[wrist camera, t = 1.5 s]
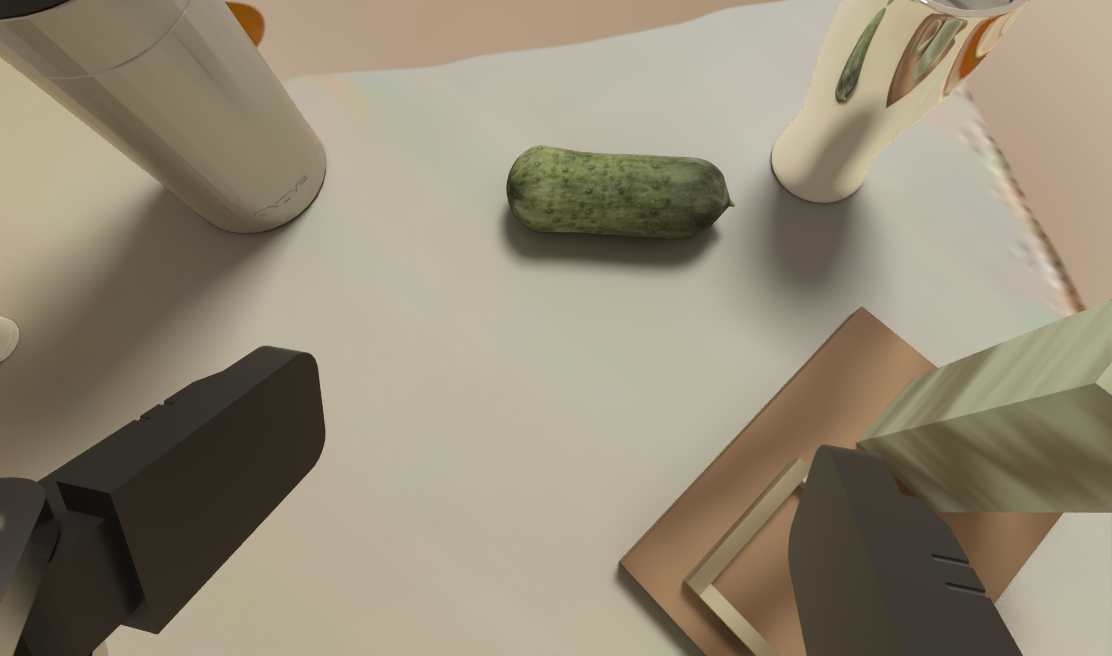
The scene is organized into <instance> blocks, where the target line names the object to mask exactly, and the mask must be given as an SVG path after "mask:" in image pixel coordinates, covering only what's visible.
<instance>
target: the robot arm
mask: <svg viewBox="0 0 1112 656" xmlns="http://www.w3.org/2000/svg"><path fill="white" fill-rule="evenodd" d="M0 57H1V58H2V59H4V60H5V61H6V62H7V63H9V64H10V65H12V66H13V67H14V68H16V69H17V70H18V71H19V72H21V73H22V74H23V75H24V76H26V77H27V78H28V79H30V80H31V81H32V82H33V83H35V84H36V85H37V86H38V87H40V88H41V89H42V90H43V91H45V92H46V93H47V94H48V95H50V96H51V97H52V98H54V99H55V100H56V101H57V102H59V103H60V104H61V105H62V106H64V107H65V108H66V109H67V110H69V111H70V112H71V113H73V114H74V115H75V116H76V117H78V118H79V119H80V120H81V121H83V122H84V123H85V124H86V125H88V126H89V127H90V128H91V129H93V130H94V131H95V132H97V133H98V134H99V135H100V136H102V137H103V138H104V139H105V140H107V141H108V142H109V143H110V144H112V145H113V146H114V147H116V148H117V149H118V150H119V151H121V152H122V153H123V154H124V155H126V156H127V157H128V158H129V159H131V160H132V161H133V162H134V163H136V164H137V165H138V166H140V167H141V168H142V169H143V170H145V171H146V172H147V173H148V174H150V175H151V176H152V177H153V178H155V179H156V180H157V181H159V182H160V183H161V184H162V185H164V186H165V187H166V188H167V189H168V190H169V191H171V192H172V193H173V194H175V195H176V196H177V197H178V198H180V199H181V200H182V201H183V202H185V203H186V204H187V205H189V206H190V207H191V208H192V209H194V210H195V211H196V212H197V213H199V214H200V215H201V216H202V217H204V218H205V219H206V220H208V221H209V222H211V223H212V224H213V225H215V226H217V227H219V228H222V229H224V230H227V231H231V232H237V233H257V232H262V231H266V230H270V229H273V228H276V227H278V226H280V225H283V224H285V223H287V222H288V221H290V220H291V219H293V218H294V217H296V216H297V215H299V214H300V213H301V212H302V211H303V210H304V209H305V208H306V207H307V206H308V205H309V204H310V203H311V201H312V200H313V199H314V197H315V196H316V194H317V193H318V191H319V189H320V186H321V184H322V182H323V178H324V174H325V169H326V164H325V154H324V150H323V147H322V144H321V142H320V141H319V139H318V137H317V136H316V134H315V133H314V131H313V130H312V128H311V127H310V126H309V124H308V123H307V121H306V120H305V118H304V117H303V115H302V114H301V113H300V111H299V110H298V108H297V107H296V105H295V104H294V102H293V101H292V99H291V98H290V96H289V95H288V93H287V92H286V90H285V89H284V87H283V86H282V84H281V83H280V82H279V80H278V79H277V77H276V76H275V74H274V73H273V71H272V70H271V69H270V67H269V66H268V64H267V63H266V61H265V60H264V58H263V57H262V56H261V54H260V53H259V51H258V50H257V48H256V47H255V45H254V44H253V42H252V41H251V40H250V38H249V37H248V35H247V34H246V32H245V31H244V29H243V28H242V27H241V25H240V24H239V22H238V21H237V19H236V18H235V16H234V15H233V14H232V12H231V11H230V9H229V8H228V6H227V5H226V3H225V2H224V0H0ZM324 442H325V423H324V414H323V406H322V398H321V390H320V382H319V373H318V366H317V363H316V360H315V358H314V357H313V356H312V355H311V354H309V353H306V352H300V351H295V350H289V349H283V348H277V347H272V346H262V347H259V348H257V349H256V350H254V351H253V352H251V353H250V354H248V355H247V356H245V357H244V358H242V359H240V360H239V361H237V362H236V363H234V364H233V365H231V366H230V367H228V368H227V369H225V370H224V371H221V372H219V373H216V374H214V375H211V376H208V377H206V378H203V379H200V380H198V381H195V382H193V383H191V384H189V385H188V386H186V387H185V388H183V389H182V390H180V391H179V392H177V393H175V394H174V395H172V396H171V397H169V398H168V399H166V400H165V401H164V404H163V405H160V404H158V405H157V406H155V407H154V408H152V409H150V410H149V411H147V412H146V413H144V414H143V415H141V416H140V420H139V421H136V420H133V421H132V422H130V423H129V424H127V425H126V426H124V427H122V428H121V429H119V430H118V431H116V432H115V433H113V434H111V435H110V436H108V437H107V438H105V439H104V440H102V441H101V442H99V443H97V444H96V445H94V446H93V447H91V448H90V449H88V450H86V451H85V452H83V453H82V454H80V455H79V456H77V457H76V458H74V459H72V460H71V461H69V462H68V463H66V464H65V465H63V466H62V467H60V468H58V469H57V470H55V471H54V472H52V473H51V474H49V475H47V476H46V477H44V478H43V479H41V480H40V481H38V482H35V481H33V480H30V479H24V478H13V477H10V478H0V656H108V649H107V645H106V643H105V639H106V638H107V637H108V636H109V635H110V634H111V633H112V632H113V631H114V630H115V629H116V628H117V627H118V626H120V625H124V626H128V627H132V628H136V629H139V630H143V631H147V632H150V633H154V634H159V633H160V632H161V630H162V629H163V628H164V627H165V626H166V625H167V624H168V623H169V622H170V621H171V620H172V619H173V618H174V616H175V615H176V614H177V613H178V612H179V611H180V610H181V609H182V608H183V607H184V606H185V605H186V604H187V603H188V601H189V600H190V599H191V598H192V597H193V596H194V595H195V594H196V593H197V592H198V591H199V590H200V589H201V587H202V586H203V585H204V584H205V583H206V582H207V581H208V580H209V579H210V578H211V577H212V576H213V575H214V574H215V572H216V571H217V570H218V569H219V568H220V567H221V566H222V565H223V564H224V563H225V562H226V561H227V560H228V559H229V557H230V556H231V555H232V554H233V553H234V552H235V551H236V550H237V549H238V548H239V547H240V546H241V545H242V543H243V542H244V541H245V540H246V539H247V538H248V537H249V536H250V535H251V534H252V533H253V532H254V531H255V530H256V528H257V527H258V526H259V525H260V524H261V523H262V522H263V521H264V520H265V519H266V518H267V517H268V516H269V514H270V513H271V512H272V511H273V510H274V509H275V508H276V507H277V506H278V505H279V504H280V503H281V502H282V501H283V499H284V498H285V497H286V496H287V495H288V494H289V493H290V492H291V491H292V490H293V489H294V488H295V487H296V486H297V484H298V483H299V482H300V481H301V480H302V479H303V478H304V477H305V476H306V475H307V474H308V473H309V472H310V470H311V469H312V468H313V467H314V466H315V464H316V463H317V461H318V459H319V457H320V455H321V453H322V450H323V447H324ZM788 562H789V570H790V575H791V580H792V585H793V590H794V595H795V600H796V605H797V610H798V615H799V620H800V625H801V630H802V635H803V640H804V645H805V650H806V655H807V656H1023V655H1022V653H1021V652H1020V650H1019V648H1018V646H1017V645H1016V643H1015V641H1014V639H1013V637H1012V636H1011V634H1010V632H1009V630H1008V629H1007V627H1006V625H1005V623H1004V622H1003V620H1002V618H1001V616H1000V614H999V613H998V611H997V609H996V607H995V606H994V604H993V602H992V600H991V599H990V598H988V597H986V596H985V591H986V590H985V588H984V586H983V584H982V583H981V581H980V579H979V577H978V576H977V574H976V572H975V570H974V569H973V568H970V567H969V560H968V558H967V556H966V554H965V553H964V551H963V549H962V547H961V546H960V544H959V542H958V540H957V539H956V537H955V535H954V533H953V531H952V530H951V528H950V527H949V526H948V525H947V524H946V523H945V522H944V521H943V520H942V519H941V518H940V517H938V516H937V515H936V514H935V513H934V512H933V511H932V510H931V509H930V508H929V507H928V506H927V505H926V504H925V503H924V502H923V501H922V500H921V499H920V498H919V497H914V496H908V495H903V494H901V492H900V490H899V488H898V486H897V484H896V482H895V480H894V478H893V476H892V474H891V472H890V470H889V468H888V466H887V464H886V462H885V460H884V458H883V457H882V456H881V455H880V454H877V453H871V452H866V451H860V450H854V449H848V448H843V447H837V446H831V445H825V444H823V445H821V446H820V447H819V448H818V449H817V451H816V453H815V455H814V458H813V461H812V464H811V467H810V470H809V473H808V476H807V479H806V482H805V485H804V488H803V491H802V494H801V497H800V501H799V504H798V507H797V510H796V513H795V516H794V519H793V522H792V525H791V530H790V535H789V544H788Z"/></svg>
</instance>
